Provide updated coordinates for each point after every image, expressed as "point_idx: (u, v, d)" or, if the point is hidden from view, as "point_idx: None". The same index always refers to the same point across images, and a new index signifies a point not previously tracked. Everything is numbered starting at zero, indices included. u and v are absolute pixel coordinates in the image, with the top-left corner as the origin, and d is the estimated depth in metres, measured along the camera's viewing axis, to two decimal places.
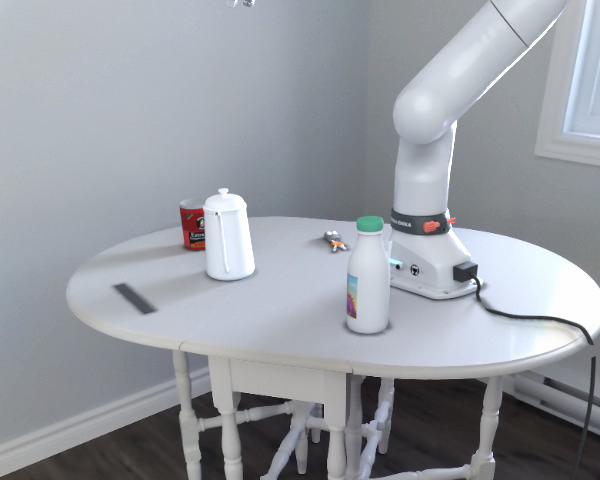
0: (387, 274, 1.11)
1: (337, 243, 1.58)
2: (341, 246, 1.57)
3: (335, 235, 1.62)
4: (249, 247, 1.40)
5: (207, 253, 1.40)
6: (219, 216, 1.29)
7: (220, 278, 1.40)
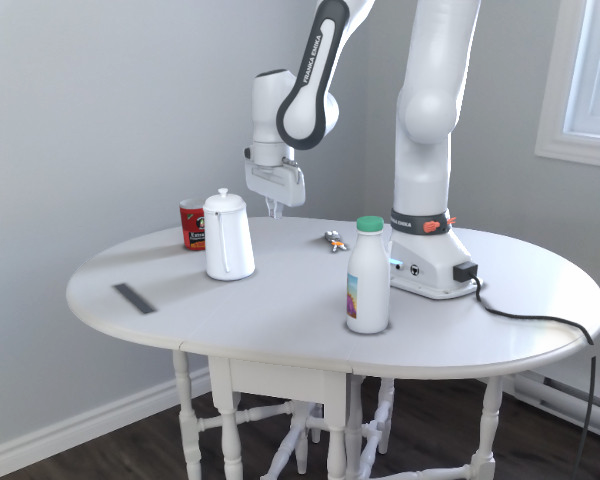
0: (387, 274, 1.11)
1: (337, 243, 1.58)
2: (341, 246, 1.57)
3: (335, 235, 1.62)
4: (249, 247, 1.40)
5: (207, 253, 1.40)
6: (219, 216, 1.29)
7: (220, 278, 1.40)
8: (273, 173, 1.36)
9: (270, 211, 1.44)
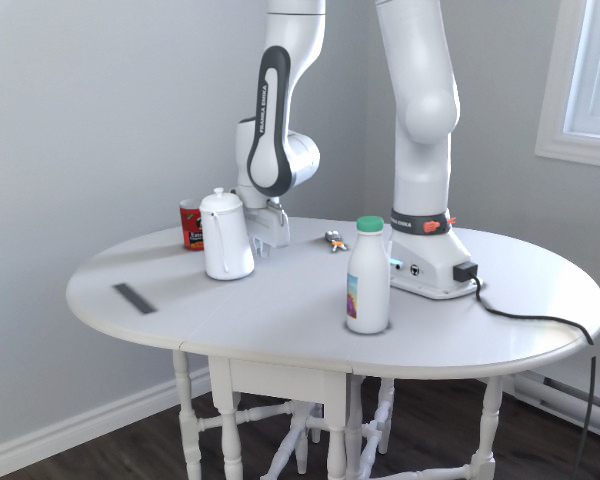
0: (387, 274, 1.11)
1: (337, 243, 1.58)
2: (341, 246, 1.57)
3: (336, 235, 1.62)
4: (247, 245, 1.40)
5: (206, 253, 1.40)
6: (215, 217, 1.28)
7: (220, 278, 1.40)
8: (258, 215, 1.39)
9: (257, 250, 1.47)
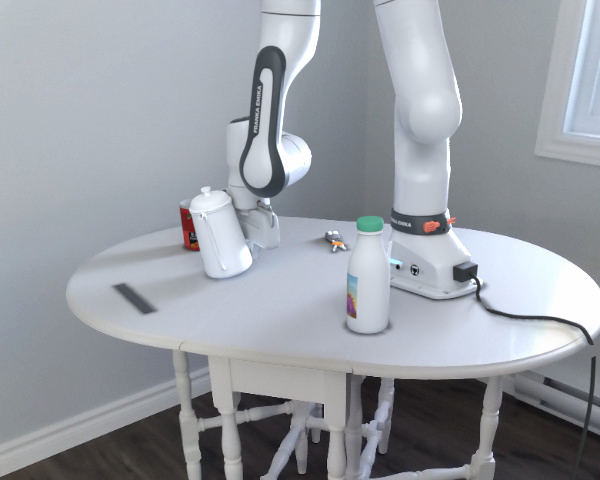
0: (387, 274, 1.11)
1: (337, 243, 1.58)
2: (341, 246, 1.57)
3: (336, 235, 1.62)
4: (242, 240, 1.39)
5: (202, 254, 1.40)
6: (204, 217, 1.28)
7: (219, 277, 1.40)
8: (249, 216, 1.38)
9: None
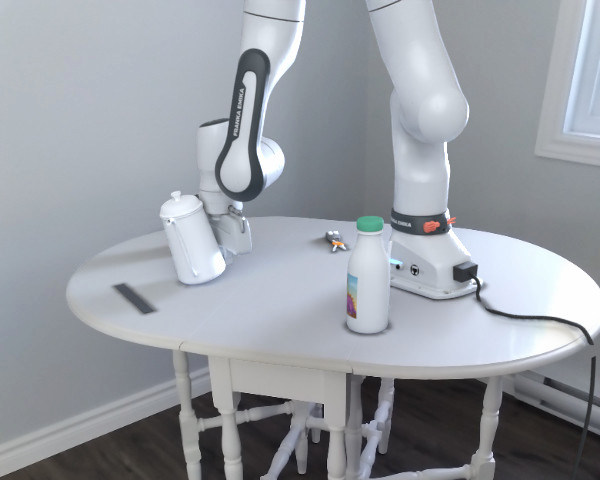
0: (387, 274, 1.11)
1: (337, 243, 1.58)
2: (341, 246, 1.57)
3: (336, 235, 1.62)
4: (214, 246, 1.36)
5: (174, 260, 1.37)
6: (173, 222, 1.25)
7: (191, 283, 1.37)
8: (220, 221, 1.35)
9: None
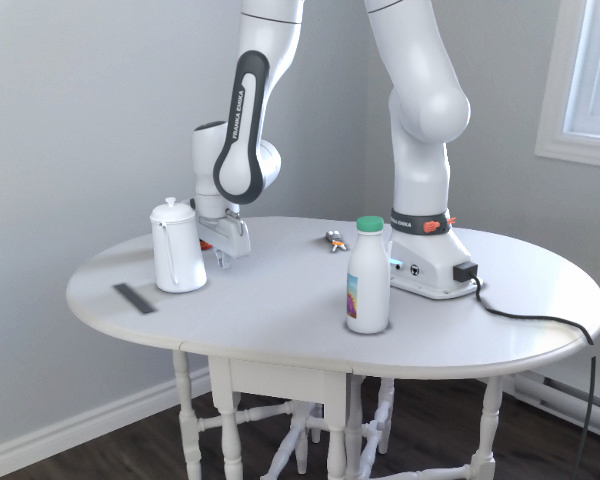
0: (387, 274, 1.11)
1: (337, 243, 1.58)
2: (341, 246, 1.57)
3: (336, 235, 1.62)
4: (199, 258, 1.35)
5: (156, 264, 1.35)
6: (164, 227, 1.23)
7: (169, 290, 1.35)
8: (218, 224, 1.34)
9: (219, 260, 1.42)
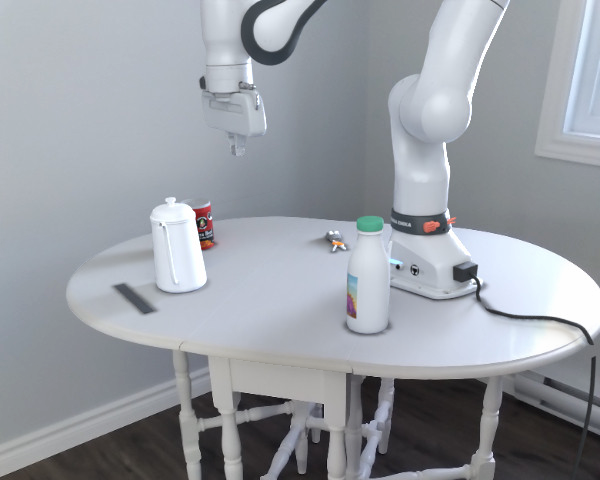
0: (387, 274, 1.11)
1: (337, 243, 1.58)
2: (341, 246, 1.57)
3: (337, 235, 1.62)
4: (199, 258, 1.35)
5: (156, 265, 1.35)
6: (164, 227, 1.23)
7: (169, 290, 1.35)
8: (230, 101, 1.23)
9: (231, 148, 1.31)
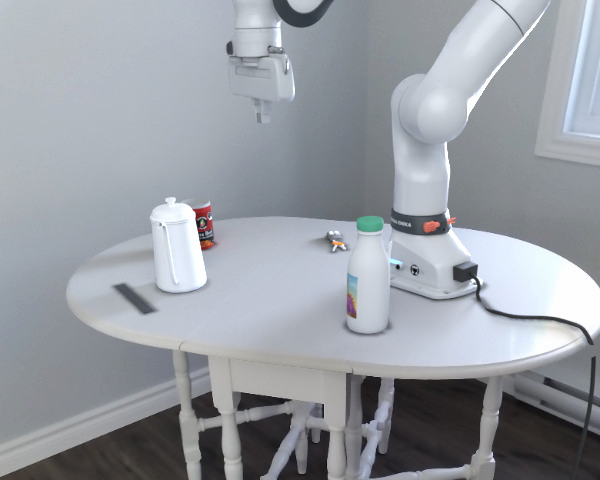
0: (387, 274, 1.11)
1: (338, 243, 1.58)
2: (341, 246, 1.57)
3: (337, 235, 1.62)
4: (199, 258, 1.35)
5: (156, 265, 1.35)
6: (164, 227, 1.23)
7: (169, 290, 1.35)
8: (258, 66, 1.21)
9: (257, 115, 1.29)
